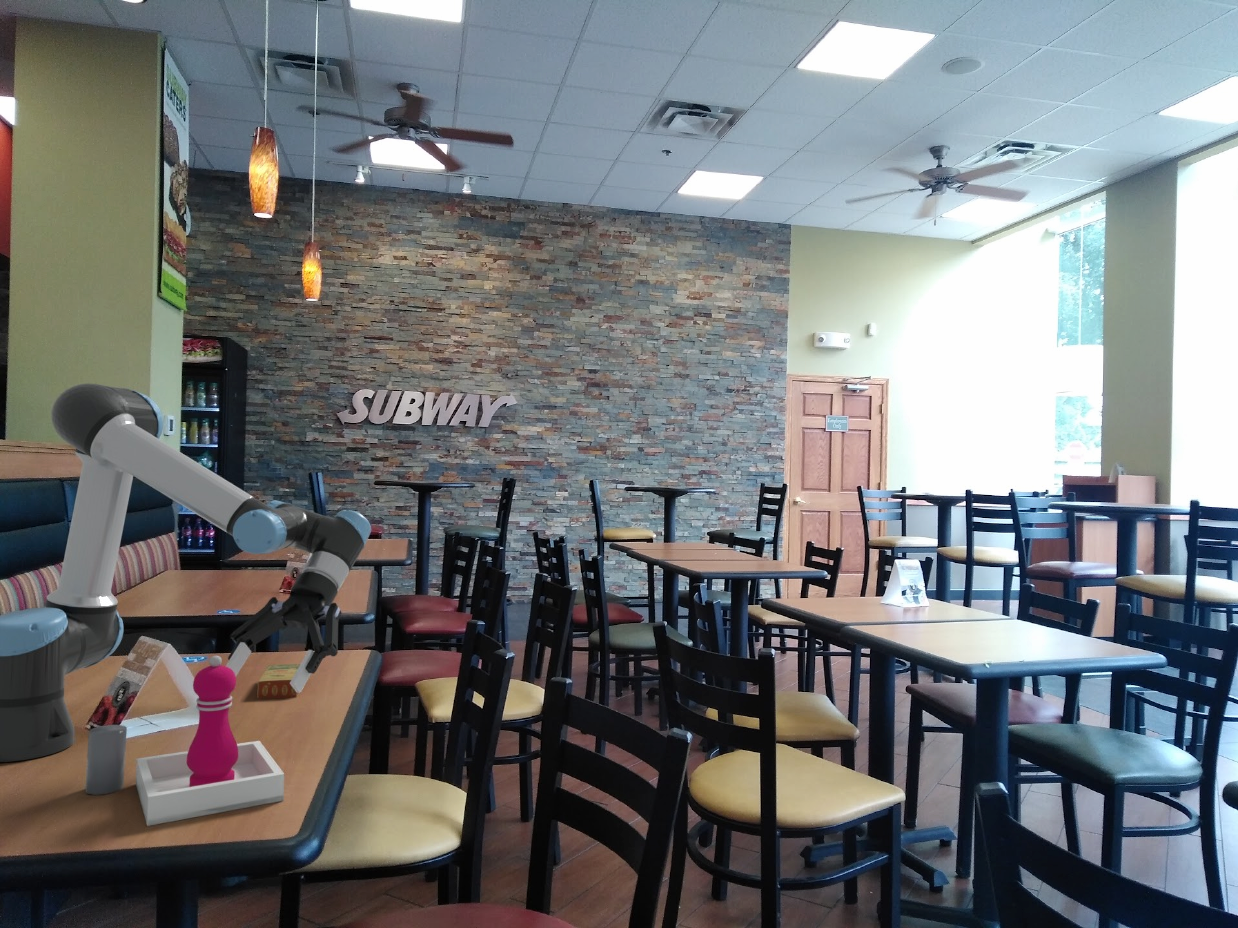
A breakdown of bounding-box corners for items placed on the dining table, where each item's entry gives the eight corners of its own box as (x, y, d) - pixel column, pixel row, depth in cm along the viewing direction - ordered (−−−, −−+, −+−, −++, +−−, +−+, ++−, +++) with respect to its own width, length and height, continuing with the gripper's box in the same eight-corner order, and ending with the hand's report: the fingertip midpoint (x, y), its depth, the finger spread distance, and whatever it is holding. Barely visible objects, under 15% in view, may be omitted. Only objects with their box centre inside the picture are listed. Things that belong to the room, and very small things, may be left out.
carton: (256, 700, 181) (256, 680, 181) (267, 682, 197) (267, 663, 197) (297, 698, 184) (298, 678, 184) (305, 680, 199) (305, 662, 199)
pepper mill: (223, 795, 126) (227, 661, 127) (176, 793, 127) (179, 660, 127) (246, 777, 134) (249, 651, 134) (201, 776, 134) (204, 649, 134)
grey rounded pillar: (80, 795, 127) (84, 735, 127) (90, 782, 131) (94, 725, 132) (118, 793, 128) (122, 734, 128) (126, 781, 133) (130, 724, 133)
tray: (147, 825, 117) (148, 796, 117) (135, 784, 132) (136, 758, 132) (283, 800, 127) (284, 773, 127) (258, 764, 142) (259, 740, 142)
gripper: (387, 600, 154) (334, 704, 139) (270, 590, 160) (208, 687, 146) (372, 574, 149) (315, 679, 134) (252, 564, 155) (186, 663, 141)
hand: (259, 683), depth 140 cm, fingers open, 13 cm apart
